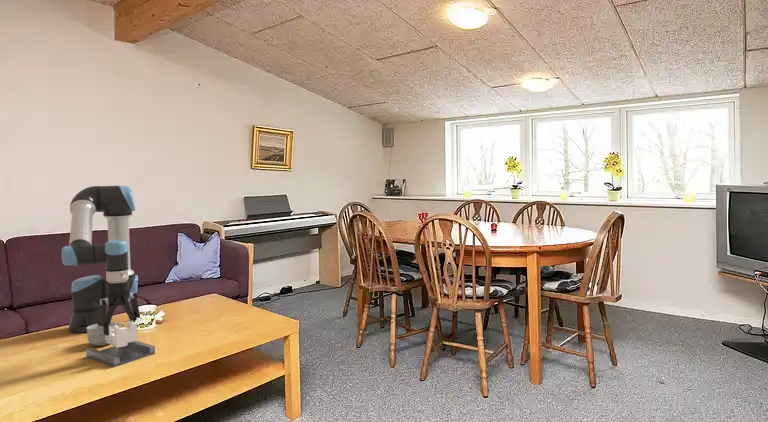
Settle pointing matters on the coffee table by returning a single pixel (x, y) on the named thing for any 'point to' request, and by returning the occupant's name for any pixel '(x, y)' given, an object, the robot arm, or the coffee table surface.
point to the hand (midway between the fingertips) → (120, 339)
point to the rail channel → (121, 353)
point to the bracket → (124, 335)
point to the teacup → (99, 333)
